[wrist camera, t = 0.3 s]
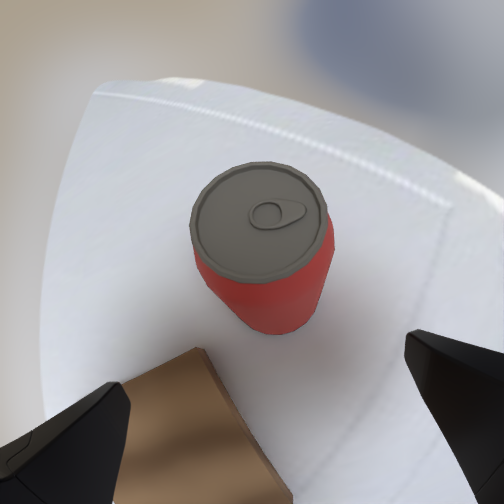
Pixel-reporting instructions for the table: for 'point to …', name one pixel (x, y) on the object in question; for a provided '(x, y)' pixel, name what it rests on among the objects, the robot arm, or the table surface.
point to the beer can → (264, 244)
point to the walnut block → (191, 442)
